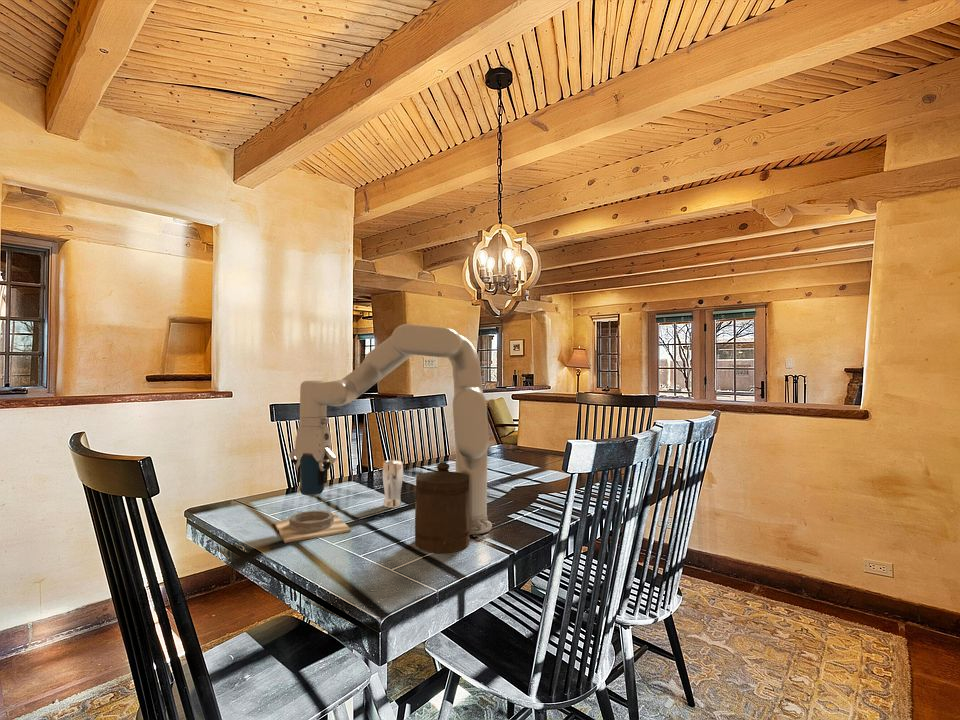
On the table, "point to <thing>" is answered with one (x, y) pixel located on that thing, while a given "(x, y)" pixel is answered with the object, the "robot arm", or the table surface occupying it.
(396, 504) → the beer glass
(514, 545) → the table surface
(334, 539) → the table surface
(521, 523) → the table surface
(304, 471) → the soda can
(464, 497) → the wooden container
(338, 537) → the table surface
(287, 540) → the collar plate
